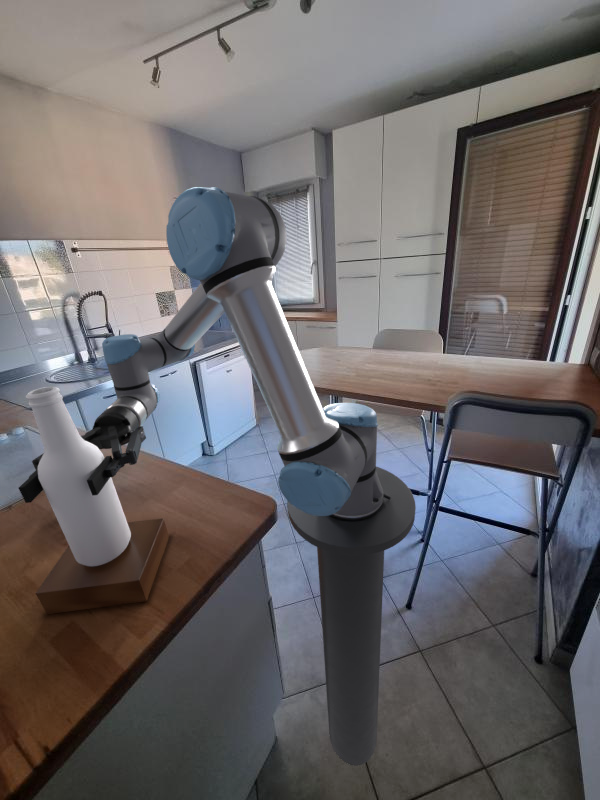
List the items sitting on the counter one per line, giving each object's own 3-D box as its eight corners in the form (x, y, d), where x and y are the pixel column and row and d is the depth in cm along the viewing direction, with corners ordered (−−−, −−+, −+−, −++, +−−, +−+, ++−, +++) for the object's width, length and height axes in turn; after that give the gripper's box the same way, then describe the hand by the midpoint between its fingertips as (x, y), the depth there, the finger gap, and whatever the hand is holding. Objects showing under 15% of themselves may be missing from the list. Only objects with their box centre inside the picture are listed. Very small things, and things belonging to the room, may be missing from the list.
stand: (169, 536, 68) (163, 517, 66) (146, 601, 55) (139, 580, 53) (88, 546, 67) (80, 527, 65) (46, 614, 54) (35, 593, 52)
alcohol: (89, 578, 53) (13, 408, 41) (68, 553, 58) (-6, 395, 46) (141, 542, 60) (88, 385, 48) (118, 522, 65) (64, 376, 53)
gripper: (177, 432, 71) (140, 503, 50) (73, 442, 70) (-8, 520, 49) (169, 400, 68) (127, 461, 48) (61, 410, 67) (-31, 478, 46)
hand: (58, 491), depth 48 cm, fingers closed on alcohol, 9 cm apart
